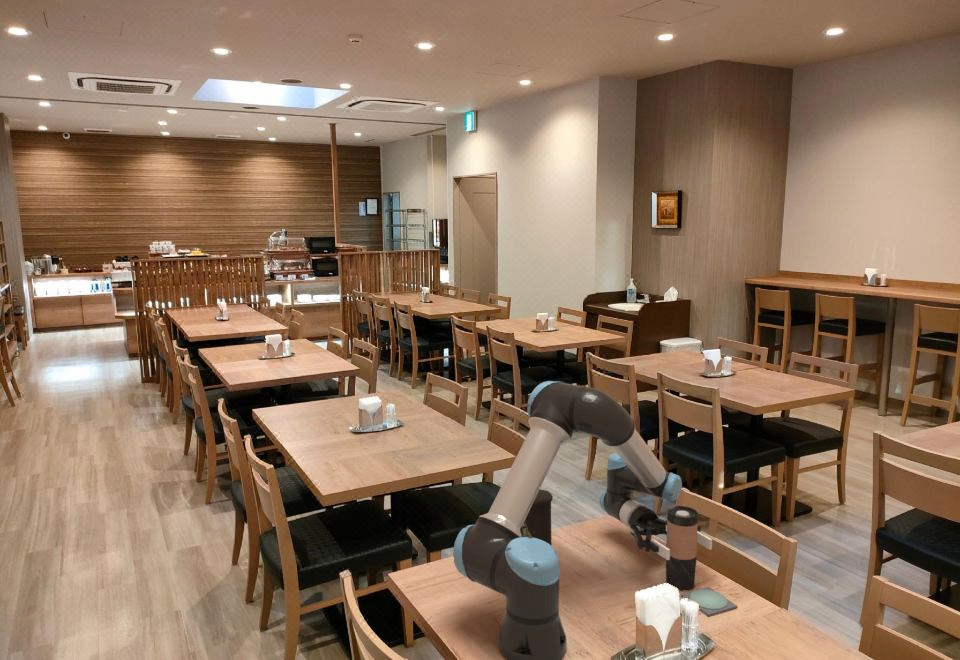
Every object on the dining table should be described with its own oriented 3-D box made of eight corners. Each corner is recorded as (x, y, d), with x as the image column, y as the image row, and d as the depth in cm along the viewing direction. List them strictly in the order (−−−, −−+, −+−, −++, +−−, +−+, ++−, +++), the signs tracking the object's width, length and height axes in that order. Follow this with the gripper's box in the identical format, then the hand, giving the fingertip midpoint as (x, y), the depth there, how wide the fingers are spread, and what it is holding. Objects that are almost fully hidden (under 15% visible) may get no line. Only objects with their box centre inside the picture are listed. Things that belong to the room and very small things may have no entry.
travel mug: (696, 592, 173) (699, 518, 171) (665, 590, 175) (668, 516, 172) (693, 578, 181) (696, 506, 178) (664, 575, 182) (666, 504, 179)
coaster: (708, 616, 163) (708, 612, 163) (680, 596, 172) (680, 592, 172) (737, 608, 166) (737, 604, 166) (708, 588, 175) (708, 585, 175)
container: (515, 557, 193) (515, 490, 190) (542, 550, 197) (543, 484, 194) (530, 570, 186) (530, 500, 183) (558, 563, 189) (559, 495, 186)
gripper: (673, 522, 198) (727, 553, 179) (601, 538, 188) (649, 573, 169) (674, 498, 197) (728, 527, 178) (602, 513, 187) (650, 545, 168)
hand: (690, 549), depth 173 cm, fingers open, 13 cm apart
